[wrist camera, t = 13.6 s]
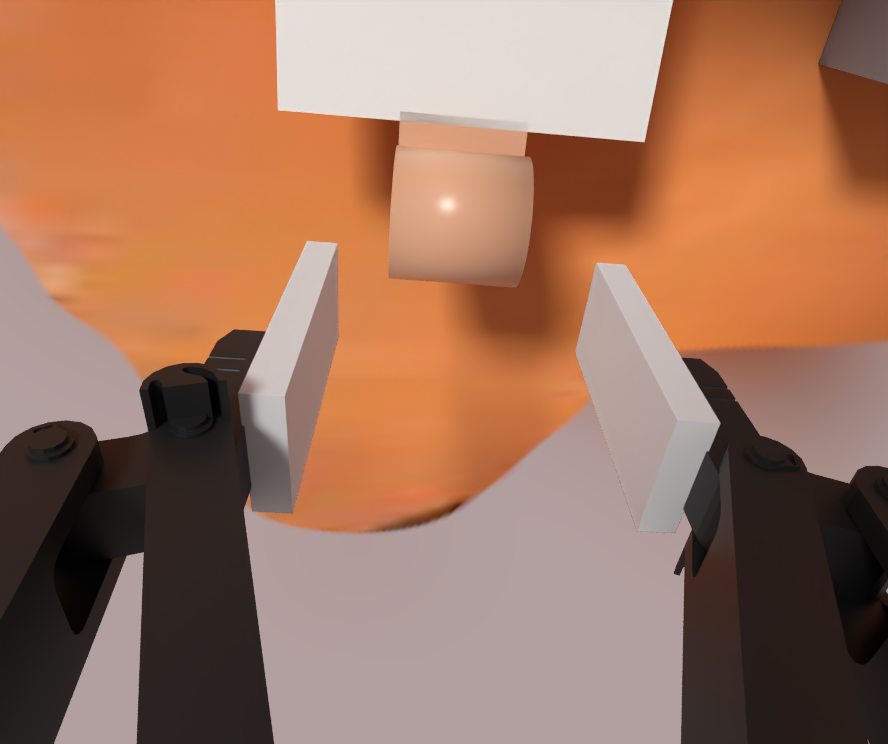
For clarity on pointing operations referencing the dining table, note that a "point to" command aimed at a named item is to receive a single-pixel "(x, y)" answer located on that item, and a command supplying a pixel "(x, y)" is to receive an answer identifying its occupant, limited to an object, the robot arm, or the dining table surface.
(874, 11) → the tub
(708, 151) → the dining table surface
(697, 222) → the dining table surface
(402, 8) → the lid
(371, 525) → the dining table surface
